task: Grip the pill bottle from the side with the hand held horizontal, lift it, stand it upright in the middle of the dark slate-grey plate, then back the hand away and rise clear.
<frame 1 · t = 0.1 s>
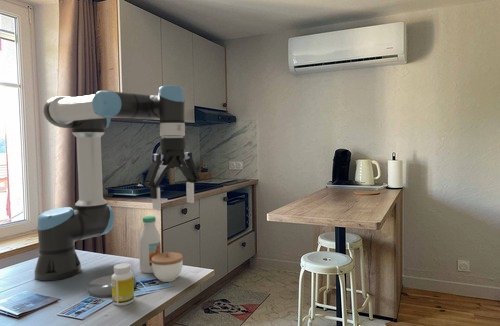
hand: (174, 205, 116), 28 cm above the table, tool pointing down, fingers open, 13 cm apart
milk bottle: (150, 270, 139), on the table
lidded jar: (167, 279, 131), on the table
pill bottle: (123, 302, 112), on the table
slate plate: (111, 287, 123), on the table
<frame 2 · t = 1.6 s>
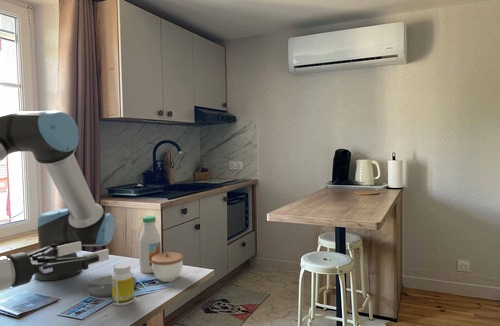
hand: (93, 249, 104), 18 cm above the table, tool horizontal, fingers open, 13 cm apart
nothing on the table moved.
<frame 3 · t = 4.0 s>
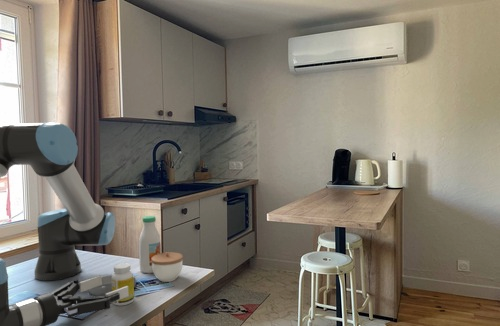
hand: (113, 285, 109), 6 cm above the table, tool horizontal, fingers open, 13 cm apart
nothing on the table moved.
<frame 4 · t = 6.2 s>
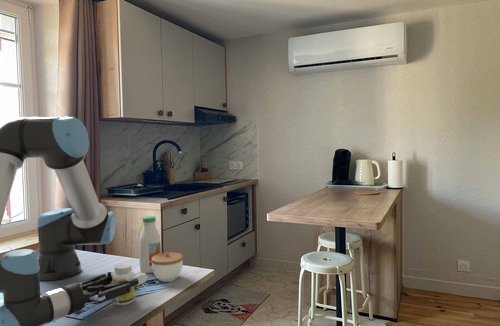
hand: (138, 275, 116), 7 cm above the table, tool horizontal, fingers closed on pill bottle, 6 cm apart
pill bottle: (123, 302, 112), on the table, touching gripper
everything else where it was.
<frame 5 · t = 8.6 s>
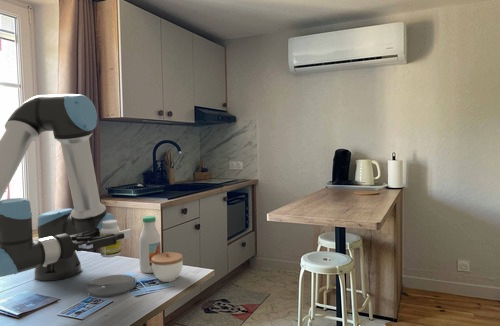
hand: (124, 231, 125), 18 cm above the table, tool horizontal, fingers closed on pill bottle, 6 cm apart
pill bottle: (110, 255, 121), point 11 cm above the table, touching gripper
everything else where it was.
when the fingers open (9 cm above the table, at t = 11.1 s): pill bottle drops 1 cm, resting on slate plate.
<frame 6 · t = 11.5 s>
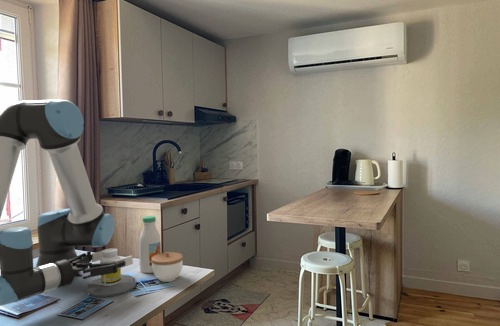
hand: (120, 256, 126), 10 cm above the table, tool horizontal, fingers open, 12 cm apart
pill bottle: (111, 283, 123), point 1 cm above the table, touching slate plate
everything else where it was.
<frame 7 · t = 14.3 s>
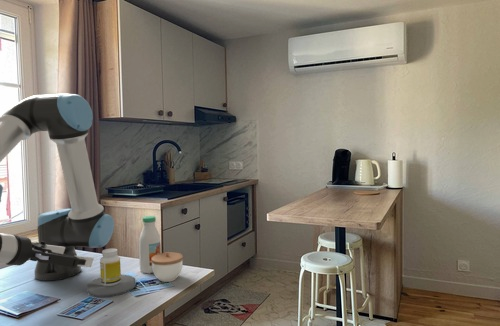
hand: (77, 256, 115), 13 cm above the table, tool tilted 70°, fingers open, 13 cm apart
nothing on the table moved.
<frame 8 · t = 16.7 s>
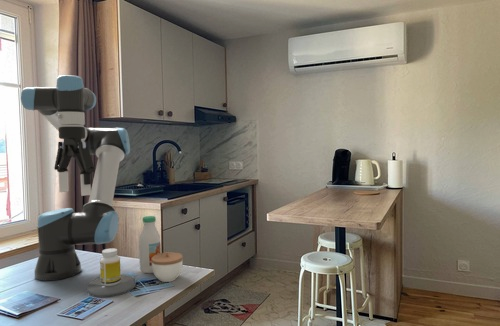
hand: (74, 193, 119), 32 cm above the table, tool pointing down, fingers open, 13 cm apart
nothing on the table moved.
at the end: pill bottle inside the target area on the slate plate (0.3 cm from its centre), point 1.3 cm above the slate plate's base; pill bottle tilted 0°; the gripper is holding nothing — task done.
